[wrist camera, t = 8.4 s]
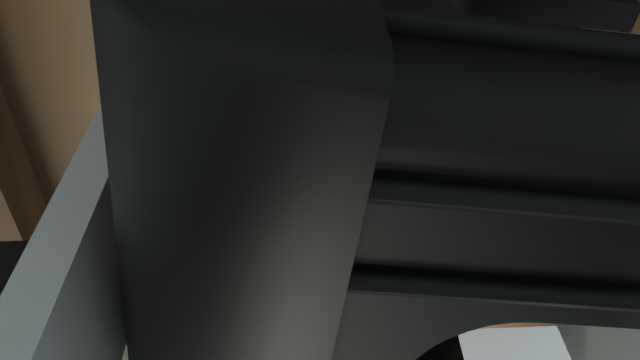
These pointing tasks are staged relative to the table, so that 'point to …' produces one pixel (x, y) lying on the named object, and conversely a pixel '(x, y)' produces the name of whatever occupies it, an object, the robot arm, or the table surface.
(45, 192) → the pedestal
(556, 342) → the table surface
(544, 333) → the table surface
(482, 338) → the table surface
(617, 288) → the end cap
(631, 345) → the robot arm
